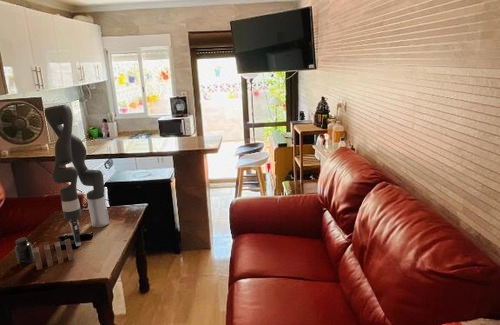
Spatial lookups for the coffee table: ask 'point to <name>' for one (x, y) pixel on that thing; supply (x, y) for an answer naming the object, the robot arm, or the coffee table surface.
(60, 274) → the coffee table surface
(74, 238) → the domino
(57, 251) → the domino
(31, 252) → the supplement bottle
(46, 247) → the domino
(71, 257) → the domino
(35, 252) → the domino
